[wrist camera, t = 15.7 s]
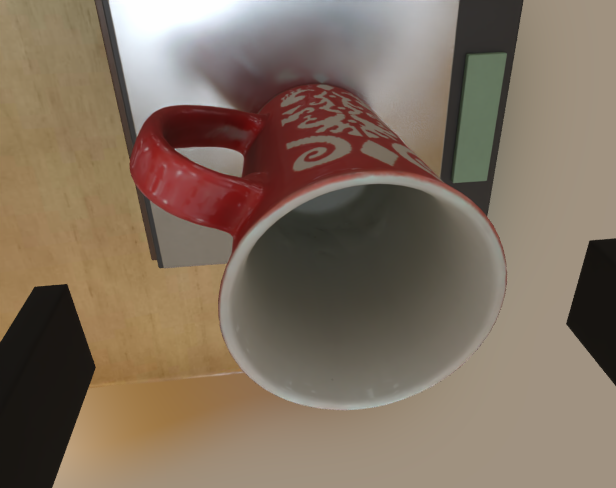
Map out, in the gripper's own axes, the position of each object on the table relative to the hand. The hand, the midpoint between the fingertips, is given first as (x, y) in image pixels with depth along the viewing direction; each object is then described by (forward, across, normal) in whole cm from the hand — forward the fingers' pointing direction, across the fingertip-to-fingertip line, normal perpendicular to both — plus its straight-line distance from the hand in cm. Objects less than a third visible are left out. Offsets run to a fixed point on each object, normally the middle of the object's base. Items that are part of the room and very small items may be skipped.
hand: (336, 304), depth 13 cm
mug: (+15, 0, -1) cm, 15 cm away
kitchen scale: (+19, +1, -1) cm, 19 cm away
